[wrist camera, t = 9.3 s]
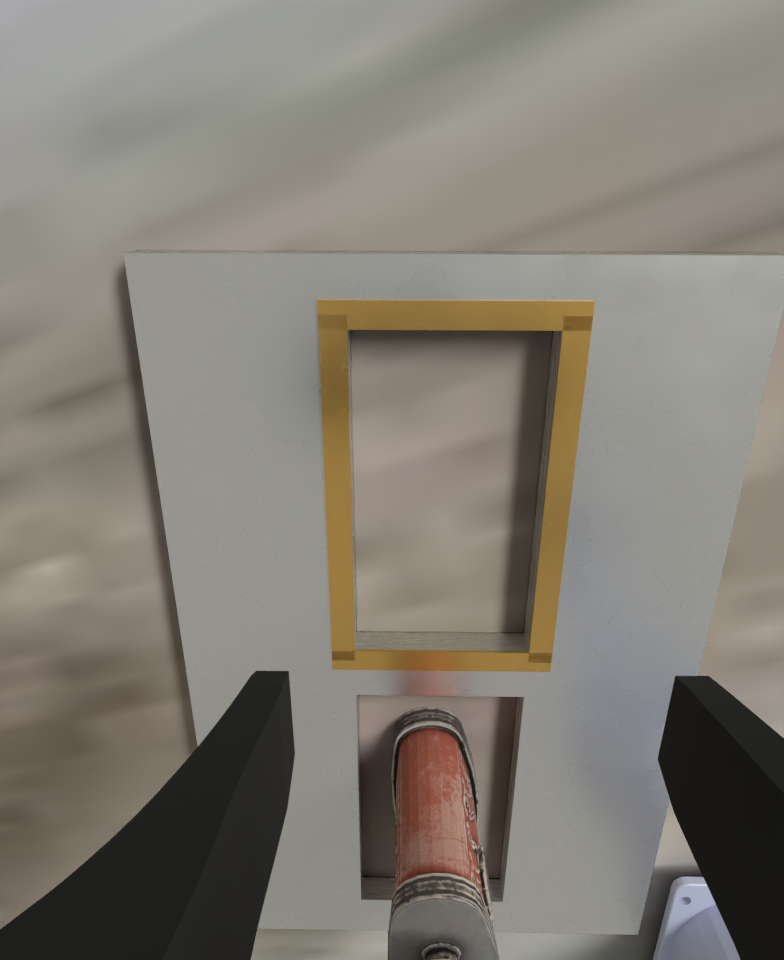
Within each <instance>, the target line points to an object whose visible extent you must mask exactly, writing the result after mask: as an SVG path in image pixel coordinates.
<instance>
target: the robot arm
mask: <svg viewBox="0 0 784 960" xmlns="http://www.w3.org/2000/svg"><path fill="white" fill-rule="evenodd" d="M294 757H295V748H294V735H293V721H292V708H291V694H290V681H289V671H256V672H254V673H253V674H252V675H251V676H250V678H249V679H248V681H247V682H246V684H245V685H244V687H243V688H242V689H241V691H240V692H239V694H238V695H237V696H236V698H235V699H234V701H233V702H232V703H231V705H230V706H229V708H228V709H227V710H226V711H225V713H224V714H223V715H222V717H221V718H220V719H219V721H218V722H217V723H216V725H215V726H214V727H213V728H212V730H211V731H210V732H209V733H208V735H207V736H206V737H205V738H204V740H203V741H202V742H201V743H200V745H199V746H198V747H197V748H196V750H195V751H194V752H193V753H192V755H191V756H190V757H189V758H188V759H187V760H186V762H185V763H184V764H183V765H182V766H181V767H180V768H179V769H178V771H177V772H176V773H175V774H174V775H173V776H172V777H171V778H170V780H169V781H168V782H167V783H166V784H165V785H164V786H163V787H162V789H161V790H160V791H159V792H158V793H157V794H156V795H155V796H154V797H153V798H152V799H151V800H150V801H149V802H148V803H147V804H146V805H145V807H144V808H143V809H142V810H141V811H140V812H139V813H138V814H137V815H136V816H135V817H134V818H133V819H132V820H131V821H130V822H128V823H127V824H126V825H125V826H124V827H123V828H122V829H121V830H120V831H119V832H118V833H117V834H116V835H115V836H114V837H113V838H112V839H111V840H110V841H109V842H107V843H106V844H105V845H104V846H103V847H102V848H101V849H99V850H98V851H97V852H96V853H95V854H94V855H93V856H92V857H90V858H89V859H88V860H87V861H86V862H85V863H84V864H83V865H81V866H80V867H79V868H78V869H77V870H76V871H75V872H73V873H72V874H71V875H70V876H69V877H67V878H66V879H65V880H64V881H63V882H61V883H60V884H59V885H58V886H56V887H55V888H54V889H53V890H52V891H50V892H49V893H48V894H46V895H45V896H44V897H42V898H41V899H40V900H38V901H37V902H36V903H35V904H33V905H32V906H31V907H29V908H28V909H27V910H25V911H24V912H23V913H21V914H20V915H19V916H17V917H16V918H15V919H14V920H12V921H11V922H10V923H8V924H7V925H6V926H4V927H3V928H2V929H0V960H250V959H251V955H252V950H253V945H254V941H255V936H256V932H257V928H258V924H259V920H260V916H261V912H262V908H263V904H264V900H265V896H266V892H267V888H268V884H269V880H270V876H271V872H272V868H273V864H274V860H275V856H276V852H277V848H278V844H279V840H280V836H281V832H282V828H283V824H284V820H285V816H286V812H287V808H288V801H289V794H290V787H291V780H292V772H293V765H294ZM658 762H659V766H660V769H661V772H662V776H663V779H664V782H665V785H666V789H667V792H668V795H669V798H670V801H671V804H672V807H673V810H674V813H675V815H676V818H677V820H678V822H679V825H680V827H681V829H682V831H683V834H684V836H685V838H686V840H687V842H688V845H689V847H690V849H691V851H692V853H693V856H694V858H695V860H696V862H697V864H698V867H699V869H700V871H701V873H702V875H703V877H680V878H677V879H676V880H674V881H673V883H672V885H671V889H670V893H669V897H668V901H667V905H666V909H665V913H664V917H663V921H662V925H661V929H660V933H659V937H658V941H657V945H656V949H655V953H654V957H653V960H784V738H783V737H781V736H780V735H779V734H778V733H777V732H775V731H774V730H773V729H772V728H771V727H769V726H768V725H767V724H766V723H765V722H763V721H762V720H761V719H760V718H759V717H758V716H756V715H755V714H754V713H753V712H752V711H750V710H749V709H748V708H747V707H746V706H744V705H743V704H742V703H741V702H740V701H739V700H737V699H736V698H735V697H734V696H733V695H731V694H730V693H729V692H728V691H727V690H725V689H724V688H723V687H722V686H720V685H719V684H718V683H717V682H715V681H714V680H713V679H712V678H710V677H709V676H675V679H674V684H673V689H672V693H671V698H670V703H669V707H668V712H667V717H666V722H665V726H664V731H663V736H662V740H661V745H660V750H659V754H658Z"/></svg>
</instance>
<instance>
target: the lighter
mask: <svg viewBox="0 0 784 960" xmlns="http://www.w3.org/2000/svg"><path fill="white" fill-rule="evenodd" d="M391 780H392V798H393V808H394V812H395V816H396V861H395V892H394V894H393V896H392V903H391V912H390V920H389V929H388V960H499V955H498V950H497V945H496V939H495V934H494V929H493V927H494V916H493V908H492V900H491V893H490V885H489V877H488V872H487V867H486V861H485V856H484V851H483V848H482V847H481V846H480V845H479V839H478V823H479V796H478V789H477V781H476V775H475V770H474V764H473V759H472V753H471V750H470V747H469V744H468V741H467V738H466V735H465V732H464V729H463V727H462V724H461V722H460V720H459V719H458V717H457V716H456V715H454V714H453V713H451V712H450V711H448V710H445V709H442V708H439V707H422V708H417V709H413V710H411V711H409V712H407V713H405V714H404V715H403V716H402V717H401V718H400V719H398V720H397V723H396V726H395V729H394V739H393V748H392V760H391Z"/></svg>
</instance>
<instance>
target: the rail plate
mask: <svg viewBox="0 0 784 960" xmlns="http://www.w3.org/2000/svg"><path fill="white" fill-rule="evenodd" d="M123 255H124V261H125V268H126V275H127V281H128V288H129V295H130V301H131V308H132V314H133V321H134V328H135V334H136V341H137V348H138V354H139V361H140V368H141V374H142V381H143V388H144V394H145V401H146V407H147V414H148V421H149V427H150V434H151V441H152V447H153V454H154V461H155V467H156V474H157V481H158V487H159V494H160V500H161V507H162V514H163V520H164V527H165V534H166V540H167V547H168V554H169V560H170V567H171V574H172V580H173V587H174V593H175V600H176V607H177V613H178V620H179V627H180V633H181V640H182V647H183V653H184V660H185V666H186V673H187V680H188V686H189V693H190V700H191V706H192V713H193V720H194V726H195V733H196V740H197V746H199V745H200V743H201V742H202V741H203V740H204V738H205V737H206V736H207V735H208V733H209V732H210V731H211V730H212V728H213V727H214V726H215V725H216V723H217V722H218V721H219V719H220V718H221V717H222V715H223V714H224V713H225V711H226V710H227V709H228V708H229V706H230V705H231V703H232V702H233V701H234V699H235V698H236V696H237V695H238V694H239V692H240V691H241V689H242V688H243V687H244V685H245V684H246V682H247V681H248V679H249V678H250V676H251V675H252V674H253V673H254V672H256V671H289V681H290V694H291V708H292V721H293V735H294V748H295V757H294V765H293V772H292V780H291V787H290V794H289V801H288V808H287V812H286V816H285V820H284V824H283V828H282V832H281V836H280V840H279V844H278V848H277V852H276V856H275V860H274V864H273V868H272V872H271V876H270V880H269V884H268V888H267V892H266V896H265V900H264V904H263V908H262V912H261V916H260V920H259V924H258V928H257V929H316V930H378V931H388V929H389V920H390V912H391V903H392V896H393V894H394V892H395V878H375V877H362V834H361V790H360V746H359V702H358V695H403V696H488V697H517V707H516V718H515V728H514V738H513V748H512V758H511V769H510V779H509V789H508V799H507V809H506V819H505V830H504V840H503V850H502V860H501V870H500V879H489V885H490V893H491V900H492V908H493V916H494V927H493V929H494V932H502V933H564V934H626V935H638V933H639V929H640V924H641V920H642V916H643V912H644V907H645V903H646V899H647V894H648V890H649V886H650V881H651V877H652V873H653V868H654V864H655V860H656V855H657V851H658V847H659V842H660V838H661V834H662V829H663V825H664V821H665V817H666V812H667V808H668V804H669V799H670V798H669V795H668V792H667V789H666V785H665V782H664V779H663V776H662V772H661V769H660V766H659V762H658V754H659V750H660V745H661V740H662V736H663V731H664V726H665V722H666V717H667V712H668V707H669V703H670V698H671V693H672V689H673V684H674V679H675V676H698V674H699V670H700V665H701V661H702V657H703V652H704V648H705V644H706V640H707V635H708V631H709V627H710V622H711V618H712V614H713V609H714V605H715V601H716V596H717V592H718V588H719V583H720V579H721V575H722V570H723V566H724V562H725V557H726V553H727V549H728V545H729V540H730V536H731V532H732V527H733V523H734V519H735V514H736V510H737V506H738V501H739V497H740V493H741V488H742V484H743V480H744V475H745V471H746V467H747V462H748V458H749V454H750V450H751V445H752V441H753V437H754V432H755V428H756V424H757V419H758V415H759V411H760V406H761V402H762V398H763V393H764V389H765V385H766V380H767V376H768V372H769V368H770V363H771V359H772V355H773V350H774V346H775V342H776V337H777V333H778V329H779V324H780V320H781V316H782V311H783V307H784V254H782V253H754V252H464V251H174V250H136V251H131V252H127V253H123ZM350 330H506V331H553V341H552V351H551V361H550V371H549V382H548V392H547V402H546V412H545V422H544V432H543V443H542V453H541V463H540V473H539V483H538V494H537V504H536V514H535V524H534V534H533V544H532V555H531V565H530V575H529V585H528V595H527V606H526V616H525V626H524V634H512V633H418V632H357V614H356V570H355V526H354V482H353V438H352V394H351V350H350Z"/></svg>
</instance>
